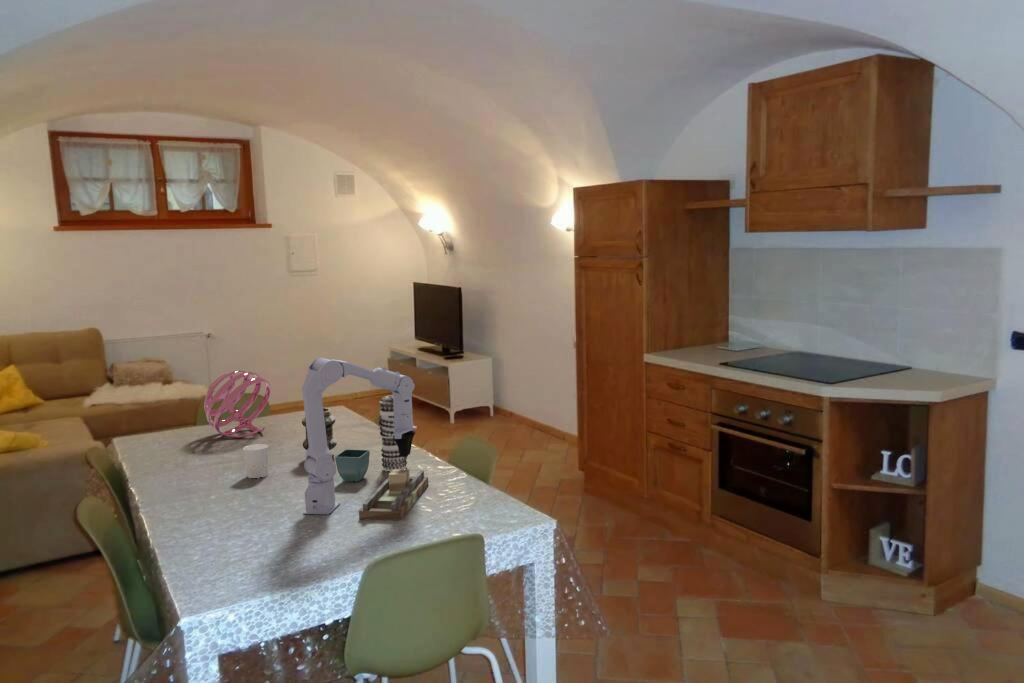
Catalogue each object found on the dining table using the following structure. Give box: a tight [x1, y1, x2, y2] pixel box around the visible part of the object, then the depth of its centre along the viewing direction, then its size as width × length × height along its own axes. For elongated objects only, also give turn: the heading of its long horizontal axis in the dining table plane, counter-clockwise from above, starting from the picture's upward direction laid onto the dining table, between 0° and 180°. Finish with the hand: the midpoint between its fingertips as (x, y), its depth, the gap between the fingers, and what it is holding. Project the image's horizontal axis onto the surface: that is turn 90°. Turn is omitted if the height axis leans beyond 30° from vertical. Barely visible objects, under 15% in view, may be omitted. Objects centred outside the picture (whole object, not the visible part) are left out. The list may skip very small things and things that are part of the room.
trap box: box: [358, 470, 429, 521], centre depth 231 cm, size 32×12×4 cm, turn 172°
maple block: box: [388, 469, 411, 491], centre depth 235 cm, size 5×5×5 cm
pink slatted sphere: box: [203, 369, 272, 439], centre depth 318 cm, size 28×28×27 cm
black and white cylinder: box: [378, 394, 408, 473], centre depth 263 cm, size 9×9×25 cm
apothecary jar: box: [301, 407, 338, 460], centre depth 279 cm, size 12×12×18 cm
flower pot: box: [334, 448, 371, 483], centre depth 253 cm, size 9×9×9 cm
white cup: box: [242, 443, 269, 479], centre depth 261 cm, size 8×8×10 cm
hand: (405, 455), depth 242 cm, fingers closed
